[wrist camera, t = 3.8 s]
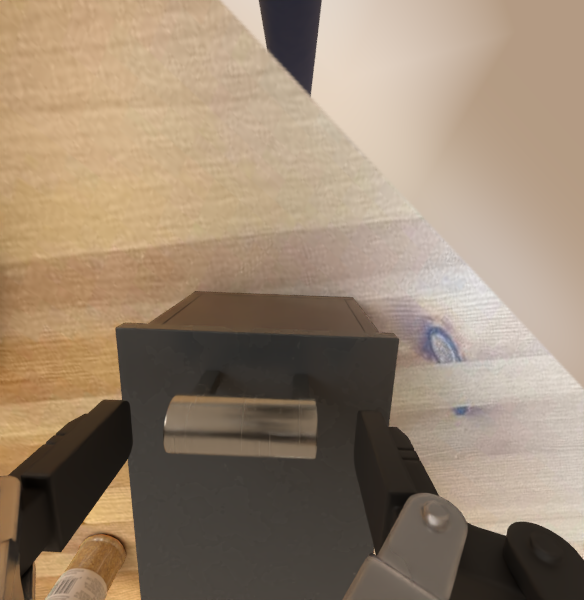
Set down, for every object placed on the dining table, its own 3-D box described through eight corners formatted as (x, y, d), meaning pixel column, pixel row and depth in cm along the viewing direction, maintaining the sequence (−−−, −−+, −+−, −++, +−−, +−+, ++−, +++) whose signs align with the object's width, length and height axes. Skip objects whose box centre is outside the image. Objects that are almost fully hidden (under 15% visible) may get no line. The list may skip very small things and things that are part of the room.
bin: (195, 291, 26) (126, 338, 15) (353, 297, 26) (392, 348, 15) (200, 459, 29) (147, 589, 19) (339, 464, 29) (363, 598, 19)
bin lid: (123, 322, 15) (34, 373, 10) (394, 332, 15) (445, 390, 10) (147, 590, 19) (91, 728, 14) (363, 599, 19) (388, 741, 14)
